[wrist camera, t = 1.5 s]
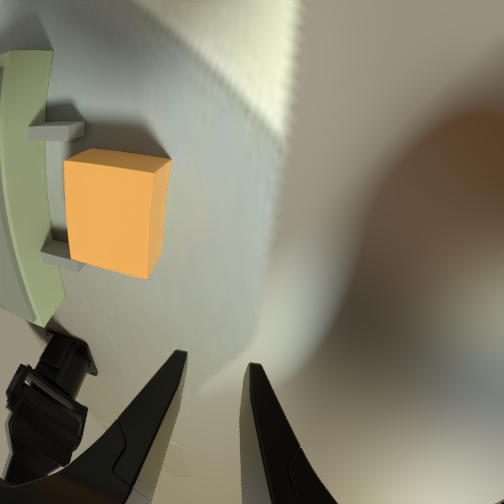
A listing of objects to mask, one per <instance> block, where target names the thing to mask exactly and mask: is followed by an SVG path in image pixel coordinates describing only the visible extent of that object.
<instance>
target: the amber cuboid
mask: <svg viewBox="0 0 504 504" xmlns="http://www.w3.org/2000/svg"><path fill="white" fill-rule="evenodd" d="M171 160H172V159H167V158H161V157H155V156H149V155H142V154H135V153H128V152H121V151H113V150H105V149H96V148H90V149H88V150H86V151H84V152H81V153H79V154H77V155H75V156H73V157H71V158H68V159H66V160H64V183H65V206H66V219H67V230H68V239H69V247H70V255H71V259H73V260H76V261H80V262H83V263H87V264H90V265H94V266H97V267H101V268H105V269H108V270H112V271H116V272H120V273H123V274H127V275H131V276H135V277H139V278H143V279H148V277H149V275H150V274H151V272H152V270H153V268H154V266H155V264H156V262H157V260H158V258H159V257H160V255H161V253H162V239H163V228H164V217H165V207H166V198H167V190H168V182H169V174H170V167H171Z"/></svg>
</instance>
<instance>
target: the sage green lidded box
mask: <svg viewBox="0 0 504 504" xmlns="http://www.w3.org/2000/svg"><path fill="white" fill-rule="evenodd" d="M52 56H53V51H47V50H11V51H8V52H5V53H3V54H0V307H1V308H3V309H4V310H6V311H8V312H10V313H12V314H14V315H16V316H19V317H21V318H23V319H25V320H27V321H29V322H32V323H34V324H36V325H39V326H41V327H43V328H44V327H45V326H46V324H47V322H48V321H49V320H50V318H51V317H52V315H53V314H54V312H55V311H56V309H57V308H58V306H59V305H60V304H61V302H62V301H63V299H64V298H65V297H66V296H65V292H64V289H63V285H62V281H61V276H60V272H59V268H58V266H59V267H62V268H66V269H69V270H73V271H77V272H79V271H80V270H81V269H82V268H83V266H84V265H85V264H86V263H83V262H80V261H76V260H73V259H71V255H70V247H69V243H66V242H62V241H57V240H53V236H52V230H51V223H50V216H49V208H48V198H47V187H46V171H45V141H70V140H72V139H75V138H78V137H81V136H84V135H85V123H86V121H49V122H45V118H46V102H47V91H48V82H49V75H50V68H51V61H52Z"/></svg>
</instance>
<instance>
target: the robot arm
mask: <svg viewBox="0 0 504 504" xmlns="http://www.w3.org/2000/svg"><path fill="white" fill-rule="evenodd" d="M44 333H45V335H46V338H47V340H48V342H49V343H48V344H47V346H46V348H45V349H44V351H43V353H42V355H41V356H40V359H39V362H38V364H37V366H36V368H35V369H32V367H31V366H30V365H29V364H28V365H27V366H25V365H23V364H20V366H19V367H18V370H17V371H16V373H15V375H14V377H13V379H12V381H11V382H10V384H9V386H8V389H7V390H6V396H7V405H6V408H7V409H8V410H9V411H10V413H9V415H8V417H7V420H6V422H5V430H6V436H7V441H8V446H9V455H8V458H7V461H6V464H5V467H4V470H3V473H2V477H1V478H0V504H151V501H152V498H153V495H154V491H155V488H156V484H157V481H158V477H159V474H160V471H161V468H162V464H163V461H164V458H165V454H166V451H167V448H168V444H169V441H170V438H171V435H172V431H173V428H174V425H175V422H176V419H177V415H178V412H179V409H180V404H181V399H182V393H183V387H184V382H185V376H186V371H187V361H188V352H187V351H183V350H175V351H174V352H173V353H172V355H171V356H170V357H169V358H168V359H167V361H166V362H165V363H164V364H163V365H162V366H161V368H160V369H159V370H158V371H157V372H156V373H155V375H154V376H153V377H152V378H151V379H150V381H149V382H148V383H147V384H146V385H145V386H144V388H143V389H142V390H141V391H140V392H139V394H138V395H137V396H136V397H135V398H134V399H133V401H132V402H131V403H130V404H129V405H128V406H127V408H126V409H125V410H124V411H123V412H122V413H121V415H120V416H119V417H118V419H116V420H115V422H114V423H113V424H112V425H111V426H110V427H109V428H108V429H107V431H106V432H105V433H104V434H103V435H102V436H101V437H100V438H99V439H98V440H97V441H96V442H95V443H94V444H92V445H91V446H90V447H89V448H88V449H87V450H86V451H84V453H82V454H81V455H80V456H79V457H77V458H76V459H75V460H74V461H73V462H72V463H70V461H71V456H72V452H73V451H75V450H76V449H77V447H78V446H79V444H80V442H81V439H82V436H83V432H84V426H85V422H86V417H87V412H88V408H87V407H86V406H83V405H81V404H80V403H78V402H77V401H75V399H76V397H77V395H78V392H79V390H80V388H81V385H82V383H83V381H84V378H85V376H86V374H87V373H88V374H91V375H94V376H97V374H98V372H97V369H96V366H95V364H94V361H93V358H92V356H91V353H90V350H89V347H88V346H87V345H86V344H85V343H82V342H79V341H77V340H74V339H71V338H68V337H66V336H63V335H60V334H58V333H55V332H53V331H50V330H48V329H46V330H45V332H44ZM24 381H27V382H28V383H29V385H27V384H26V383H25V382H24ZM239 424H240V456H241V457H240V458H241V485H242V504H338V503H337V502H336V501H335V499H334V498H333V497H332V495H331V494H330V493H329V491H328V490H327V489H326V487H325V486H324V484H323V483H322V482H321V480H320V479H319V477H318V476H317V474H316V473H315V471H314V470H313V468H312V466H311V465H310V463H309V461H308V459H307V458H306V456H305V454H304V452H303V450H302V448H300V444H299V442H298V440H297V438H296V436H295V434H294V432H293V430H292V428H291V426H290V424H289V422H288V420H287V418H286V416H285V414H284V411H283V409H282V407H281V405H280V403H279V401H278V399H277V397H276V395H275V393H274V390H273V389H272V386H271V384H270V382H269V380H268V378H267V375H266V373H265V371H264V369H263V367H262V365H261V364H259V363H252V362H250V363H249V364H248V367H247V369H246V372H245V375H244V381H243V389H242V398H241V407H240V421H239ZM69 463H70V464H69ZM68 464H69V465H68ZM66 465H68V466H66ZM61 466H62V467H65V466H66V467H65V468H64V469H62V470H60V471H59V472H57V473H54V474H52V475H49V476H48V474H50V473H51V472H53V471H55V470H56V469H58V468H59V467H61ZM496 504H504V500H502V501H500V502H498V503H496Z"/></svg>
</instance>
